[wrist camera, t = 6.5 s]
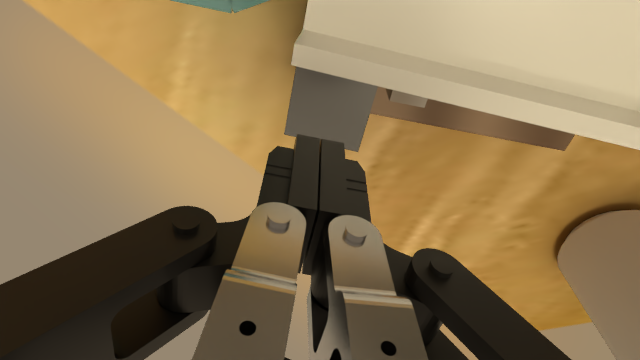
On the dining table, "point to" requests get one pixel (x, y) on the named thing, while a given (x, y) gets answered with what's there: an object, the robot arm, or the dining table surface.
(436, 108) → the stand
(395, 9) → the cream shallow tray
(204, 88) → the dining table surface
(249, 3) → the teal round bowl
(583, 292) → the can
